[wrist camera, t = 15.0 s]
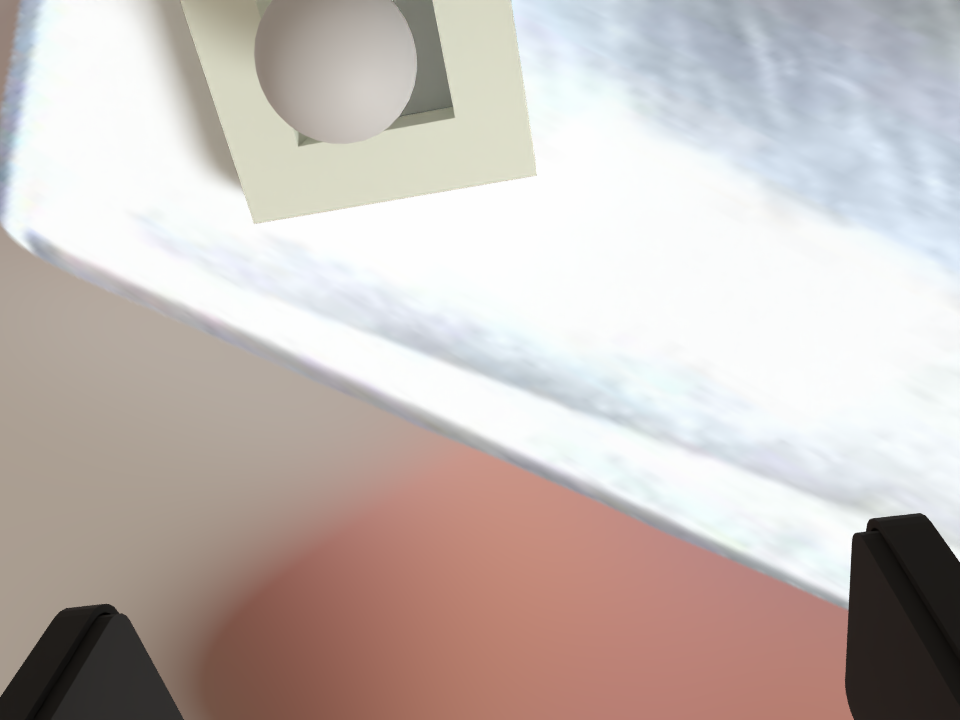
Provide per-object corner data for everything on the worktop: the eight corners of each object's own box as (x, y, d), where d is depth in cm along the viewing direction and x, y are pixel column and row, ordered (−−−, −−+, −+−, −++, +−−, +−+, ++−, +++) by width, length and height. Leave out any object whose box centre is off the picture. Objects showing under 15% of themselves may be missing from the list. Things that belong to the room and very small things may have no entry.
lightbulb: (374, -66, 35) (319, -68, 25) (462, 48, 37) (442, 86, 27) (280, 28, 37) (195, 59, 27) (368, 131, 39) (319, 194, 29)
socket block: (485, -169, 33) (482, -179, 30) (535, 159, 39) (536, 175, 37) (174, -99, 35) (146, -101, 32) (271, 205, 41) (254, 223, 38)
